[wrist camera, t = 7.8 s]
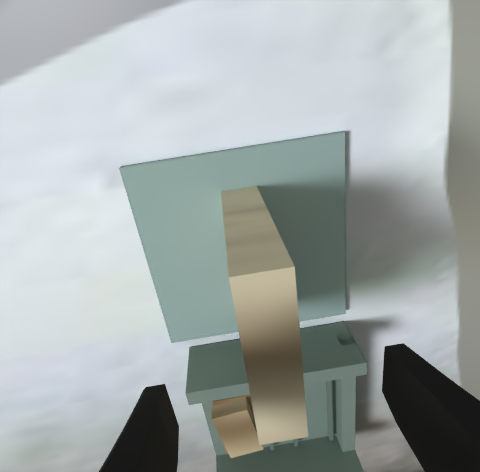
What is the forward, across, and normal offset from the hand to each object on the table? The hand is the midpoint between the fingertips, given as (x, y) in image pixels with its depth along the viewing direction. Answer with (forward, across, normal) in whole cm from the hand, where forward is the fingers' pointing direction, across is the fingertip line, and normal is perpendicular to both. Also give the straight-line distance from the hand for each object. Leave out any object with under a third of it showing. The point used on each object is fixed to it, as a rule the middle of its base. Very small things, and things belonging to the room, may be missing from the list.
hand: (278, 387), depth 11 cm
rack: (+10, 0, +13) cm, 17 cm away
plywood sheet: (+10, 0, 0) cm, 10 cm away
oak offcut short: (+8, +3, +13) cm, 16 cm away
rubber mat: (+10, 0, 0) cm, 10 cm away
